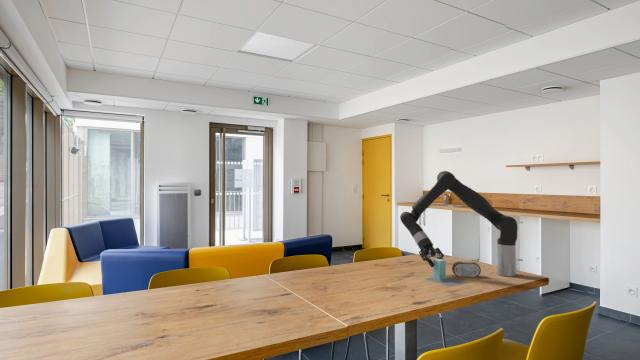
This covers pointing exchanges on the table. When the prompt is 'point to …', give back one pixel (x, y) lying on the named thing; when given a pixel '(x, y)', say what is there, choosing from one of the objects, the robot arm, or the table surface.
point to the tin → (466, 269)
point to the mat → (448, 281)
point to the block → (439, 269)
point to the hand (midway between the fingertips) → (438, 265)
